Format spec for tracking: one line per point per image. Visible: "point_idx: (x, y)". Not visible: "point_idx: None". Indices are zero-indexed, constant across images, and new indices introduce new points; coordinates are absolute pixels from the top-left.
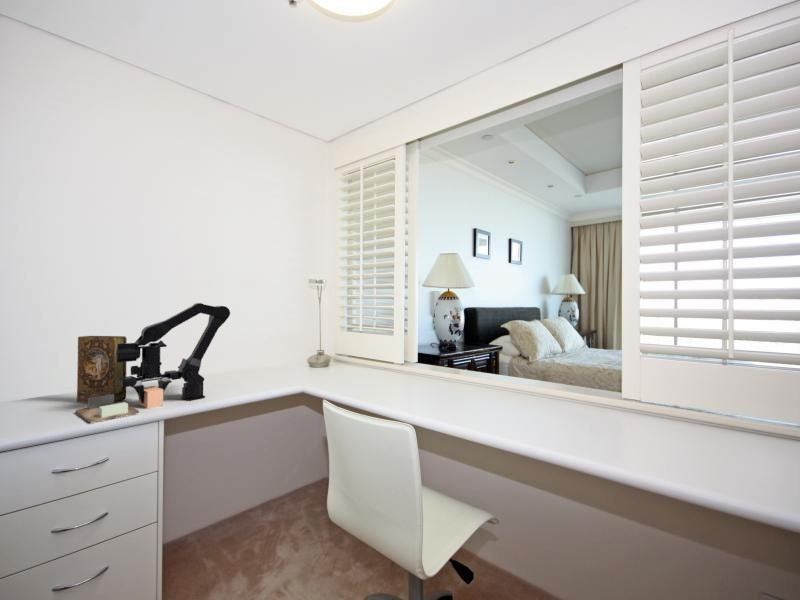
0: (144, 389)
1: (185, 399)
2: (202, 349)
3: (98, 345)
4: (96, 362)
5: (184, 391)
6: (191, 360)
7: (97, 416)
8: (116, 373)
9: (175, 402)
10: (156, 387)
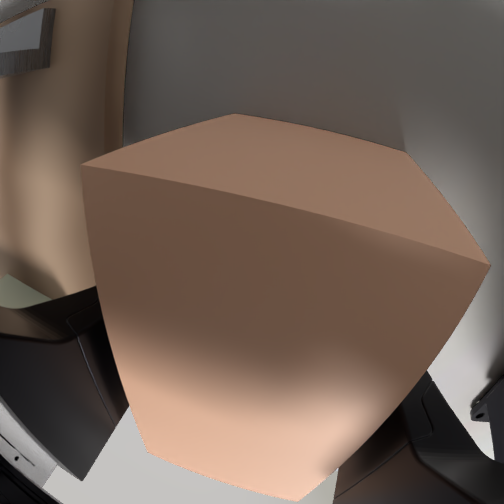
0: (143, 370)
1: (495, 385)
2: None
3: None
4: None
5: (496, 447)
6: None
7: (5, 273)
8: None
9: (430, 375)
10: (351, 432)
